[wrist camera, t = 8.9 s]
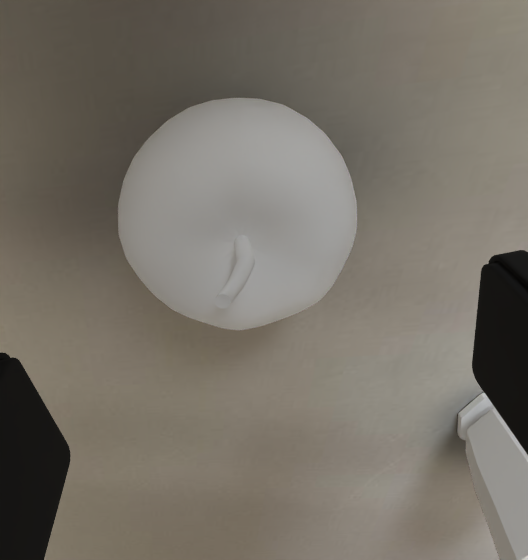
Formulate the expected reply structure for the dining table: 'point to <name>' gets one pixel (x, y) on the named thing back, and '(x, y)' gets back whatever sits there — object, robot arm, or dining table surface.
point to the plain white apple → (238, 213)
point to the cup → (497, 476)
